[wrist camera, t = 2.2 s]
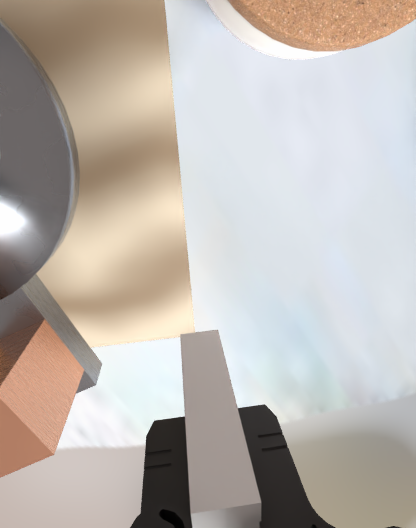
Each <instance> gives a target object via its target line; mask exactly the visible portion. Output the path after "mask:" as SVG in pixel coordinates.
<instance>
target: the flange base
mask: <svg viewBox="0 0 416 528" xmlns="http://www.w3.org/2000/svg"><path fill="white" fill-rule="evenodd" d="M0 18H1V19H3V20H4V22H5V23H6V24H7V25H8V26H9V27H10V28H11V29H12V30H13V31H14V32H15V33H16V34H17V35H18V36H19V37H20V38H21V39H22V40H23V41H24V43H25V44H26V45H27V46H28V48H29V49H30V50H31V52H32V53H33V54H34V55H35V57H36V58H37V59H38V60H39V62H40V63H41V65H42V66H43V68H44V70H45V71H46V73H47V74H48V76H49V78H50V79H51V81H52V82H53V84H54V86H55V88H56V90H57V92H58V94H59V96H60V98H61V100H62V102H63V104H64V106H65V109H66V111H67V114H68V117H69V120H70V123H71V126H72V128H73V132H74V136H75V141H76V145H77V150H78V158H79V168H80V184H79V196H78V202H77V207H76V212H75V215H74V218H73V221H72V224H71V227H70V229H69V231H68V233H67V235H66V237H65V238H64V240H63V242H62V244H61V245H60V247H59V248H58V249H57V251H56V252H55V253H54V255H53V256H52V257H51V258H50V259H49V260H48V261H47V263H46V264H45V265H44V266H43V267H42V268H41V269H40V270H39V271H38V272H37V273H36V274H37V276H38V277H39V278H40V280H41V281H42V282H43V284H44V285H45V287H46V288H47V289H48V291H49V292H50V293H51V295H52V296H53V297H54V299H55V300H56V302H57V303H58V304H59V306H60V307H61V308H62V310H63V311H64V312H65V314H66V315H67V317H68V318H69V319H70V321H71V322H72V323H73V325H74V326H75V327H76V329H77V330H78V332H79V333H80V334H81V336H82V337H83V338H84V340H85V341H86V342H87V344H88V345H89V347H90V348H91V347H99V346H108V345H116V344H124V343H133V342H141V341H150V340H158V339H167V338H175V337H180V334H187V333H195V328H194V317H193V306H192V295H191V284H190V274H189V263H188V252H187V241H186V230H185V219H184V208H183V198H182V187H181V176H180V165H179V154H178V143H177V133H176V122H175V111H174V100H173V89H172V78H171V67H170V57H169V46H168V35H167V24H166V13H165V2H164V0H0Z"/></svg>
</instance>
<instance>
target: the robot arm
mask: <svg viewBox="0 0 416 528" xmlns="http://www.w3.org/2000/svg"><path fill="white" fill-rule="evenodd" d="M180 338H181V355H182V373H183V390H184V407H185V417H178V418H171V419H163V420H156V421H154V422H153V424H152V426H151V428H150V430H149V432H148V434H147V436H146V450H145V462H144V477H143V489H142V503H141V514H140V515H139V516H138V517H137V518H136V519H135V521H134V522H133V524H132V526H131V527H130V528H335V527H333V526H331V525H330V524H328V523H327V522H325V521H324V520H323V519H322V518H321V517H320V516H318V514H317V513H316V512H315V510H314V509H313V508H312V506H311V504H310V502H309V501H308V498H307V496H306V493H305V491H304V488H303V485H302V483H301V480H300V477H299V475H298V472H297V469H296V467H295V464H294V462H293V459H292V456H291V454H290V451H289V449H288V447H287V443H286V441H285V438H284V436H283V435H282V430H281V428H280V425H279V422H278V420H277V417H276V416H275V415H274V414H273V413H272V411H271V410H270V409H269V408H268V407H267V406H266V405H258V406H250V407H243V408H237V404H236V400H235V396H234V392H233V388H232V384H231V380H230V376H229V372H228V368H227V364H226V360H225V356H224V352H223V348H222V344H221V340H220V336H219V332H218V330H212V331H204V332H195V333H187V334H180ZM387 528H400V527H395V526H392V527H387Z"/></svg>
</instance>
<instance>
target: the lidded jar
mask: <svg viewBox="0 0 416 528" xmlns="http://www.w3.org/2000/svg"><path fill="white" fill-rule="evenodd" d="M206 2H207V3H208V5H209V7H210V8H211V10H212V12H213V13H214V15H215V16H216V17H217V19H218V20H219V21H220V22H221V23H222V25H223V26H224V27H225V28H226V30H228V31H229V32H230V33H231V34H232V35H233V36H234V37H236V38H237V39H238V40H239V41H240V42H242V43H243V44H245V45H247V46H248V47H250V48H252V49H253V50H256V51H258V52H261V53H263V54H266V55H268V56H273V57H279V58H284V59H312V58H317V57H323V56H328V55H333V54H335V53H338V52H341V51H344V50H346V49H351V48H356V47H360V46H362V45H365V44H368V43H370V42H373V41H375V40H378V39H381V38H383V37H385V36H388V35H390V34H391V33H393V32H395V31H397V30H398V29H400V28H402V27H403V26H405V25H407V24H409V23H410V22H412V21H413V20H414V19H416V0H206Z"/></svg>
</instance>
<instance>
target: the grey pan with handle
mask: <svg viewBox="0 0 416 528" xmlns="http://www.w3.org/2000/svg"><path fill="white" fill-rule="evenodd" d="M79 184H80V168H79V158H78V150H77V145H76V141H75V136H74V132H73V128H72V126H71V123H70V120H69V117H68V114H67V111H66V109H65V106H64V104H63V102H62V100H61V98H60V96H59V94H58V92H57V90H56V88H55V86H54V84H53V82H52V81H51V79H50V78H49V76H48V74H47V73H46V71H45V70H44V68H43V66H42V65H41V63H40V62H39V60H38V59H37V58H36V57H35V55H34V54H33V53H32V52H31V50H30V49H29V48H28V46H27V45H26V44H25V43H24V41H23V40H22V39H21V38H20V37H19V36H18V35H17V34H16V33H15V32H14V31H13V30H12V29H11V28H10V27H9V26H8V25H7V24H6V23H5V22H4V20H3V19H1V18H0V477H3V476H5V475H7V474H10V473H12V472H14V471H17V470H19V469H21V468H24V467H26V466H28V465H31V464H33V463H35V462H38V461H40V460H43V459H45V458H47V457H49V456H52V455H54V453H55V450H56V448H57V445H58V442H59V439H60V436H61V434H62V431H63V428H64V425H65V422H66V420H67V417H68V414H69V411H70V408H71V406H72V403H73V400H74V397H75V394H76V393H79V392H81V391H83V390H85V389H88V388H90V387H92V386H95V385H96V383H97V380H98V376H99V373H100V369H101V366H102V363H101V362H100V360H99V359H98V357H97V356H96V355H95V353H94V352H93V351H92V349H91V348H90V347H89V345H88V344H87V342H86V341H85V340H84V338H83V337H82V336H81V334H80V333H79V332H78V330H77V329H76V327H75V326H74V325H73V323H72V322H71V321H70V319H69V318H68V317H67V315H66V314H65V312H64V311H63V310H62V308H61V307H60V306H59V304H58V303H57V302H56V300H55V299H54V297H53V296H52V295H51V293H50V292H49V291H48V289H47V288H46V287H45V285H44V284H43V282H42V281H41V280H40V278H39V277H38V276H37V274H36V273H37V272H38V271H39V270H40V269H41V268H42V267H43V266H44V265H45V264H46V263H47V261H48V260H49V259H50V258H51V257H52V256H53V255H54V253H55V252H56V251H57V249H58V248H59V247H60V245H61V244H62V242H63V240H64V238H65V237H66V235H67V233H68V231H69V229H70V227H71V224H72V221H73V218H74V215H75V212H76V207H77V202H78V196H79Z"/></svg>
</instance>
